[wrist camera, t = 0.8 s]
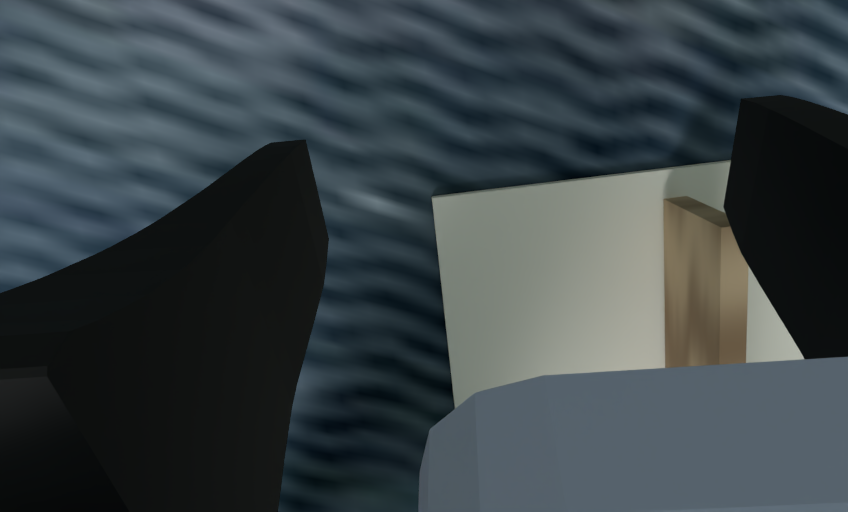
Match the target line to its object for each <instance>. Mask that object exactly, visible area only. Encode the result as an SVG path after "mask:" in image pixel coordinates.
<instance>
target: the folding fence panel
mask: <svg viewBox="0 0 848 512" xmlns="http://www.w3.org/2000/svg"><path fill="white" fill-rule="evenodd" d="M663 204H664V295H665V368H671V367H688V366H704V365H720V364H736V363H746V343H747V304H748V264H747V263H746V261H745V259H744V257H743V255H742V254H741V252H740V249H739V247H738V244H737V242H736V240H735V237H734V235H733V232H732V230H731V227H730V224H729V221H728V219H727V216H726V213H724V212H722V211H719V210H717V209H715V208H713V207H711V206H708V205H706V204H704V203H702V202H699V201H697V200H695V199H693V198H691V197H688V196H682V197H674V198H666V199H663Z"/></svg>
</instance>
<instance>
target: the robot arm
mask: <svg viewBox="0 0 848 512" xmlns="http://www.w3.org/2000/svg"><path fill="white" fill-rule="evenodd" d="M723 208H724V210H725V213H726V216H727V219H728V221H729V224H730V227H731V230H732V232H733V235H734V237H735V240H736V242H737V244H738V247H739V249H740V252H741V254H742V255H743V257H744V259H745V261H746V263H747V264H748V266H749V268H750V269H751V271H752V273H753V274H754V276H755V278H756V279H757V281H758V283H759V284H760V286H761V288H762V289H763V291H764V293H765V294H766V296H767V298H768V299H769V301H770V303H771V304H772V306H773V307H774V309H775V311H776V312H777V314H778V316H779V317H780V319H781V321H782V322H783V324H784V325H785V327H786V329H787V330H788V332H789V334H790V335H791V337H792V339H793V340H794V342H795V344H796V345H797V347H798V348H799V350H800V352H801V354H802V355H803V357H804V359H801V360H785V361H769V362H753V363H736V364H720V365H704V366H688V367H671V368H655V369H639V370H623V371H606V372H590V373H574V374H558V375H542V376H538V377H534V378H530V379H526V380H522V381H518V382H514V383H510V384H506V385H502V386H498V387H494V388H491V389H487V390H483V391H479V392H476V393H474V394H473V395H472V396H470V397H469V398H468V399H467V400H465V401H464V402H463V403H462V404H460V405H459V406H458V407H457V408H456V409H454V410H453V411H452V412H451V413H449V414H448V415H447V416H446V417H444V418H443V419H442V420H441V421H439V422H438V423H437V424H436V425H434V426H433V427H432V428H431V429H430V430H429V434H428V438H427V442H426V447H425V451H424V455H423V459H422V464H421V468H420V475H419V504H418V512H848V115H847V114H844V113H841V112H839V111H836V110H833V109H830V108H827V107H824V106H821V105H818V104H815V103H812V102H808V101H805V100H801V99H798V98H793V97H788V96H783V95H777V96H766V97H756V98H745V99H741V103H740V109H739V115H738V121H737V127H736V133H735V139H734V145H733V151H732V157H731V163H730V169H729V175H728V181H727V187H726V193H725V199H724V205H723ZM328 241H329V238H328V233H327V229H326V225H325V221H324V216H323V212H322V208H321V204H320V199H319V195H318V191H317V186H316V182H315V178H314V174H313V169H312V165H311V161H310V156H309V152H308V148H307V144H306V140H295V141H285V142H274V143H270V144H268V145H265V146H264V147H262V148H260V149H259V150H257V151H256V152H254V153H253V154H251V155H250V156H249V157H247V158H246V159H244V160H243V161H242V162H240V163H239V164H238V165H236V166H235V167H234V168H232V169H231V170H230V171H228V172H227V173H226V174H224V175H223V176H221V177H220V178H219V179H217V180H216V181H215V182H213V183H212V184H211V185H209V186H208V187H207V188H205V189H204V190H202V191H201V192H200V193H198V194H197V195H195V196H194V197H192V198H191V199H189V200H188V201H186V202H185V203H183V204H182V205H180V206H179V207H177V208H176V209H174V210H173V211H171V212H170V213H168V214H167V215H165V216H164V217H162V218H161V219H159V220H158V221H156V222H154V223H153V224H151V225H149V226H148V227H146V228H144V229H142V230H141V231H139V232H137V233H136V234H134V235H132V236H130V237H128V238H126V239H124V240H122V241H121V242H119V243H117V244H115V245H113V246H111V247H109V248H107V249H105V250H103V251H101V252H99V253H97V254H95V255H93V256H90V257H88V258H86V259H84V260H81V261H79V262H77V263H75V264H72V265H70V266H68V267H66V268H63V269H61V270H59V271H57V272H54V273H52V274H50V275H48V276H45V277H43V278H40V279H38V280H35V281H32V282H30V283H27V284H24V285H22V286H19V287H16V288H14V289H11V290H8V291H5V292H2V293H0V512H278V506H279V498H280V490H281V482H282V474H283V466H284V458H285V451H286V444H287V437H288V431H289V424H290V417H291V410H292V404H293V400H294V395H295V391H296V386H297V382H298V378H299V375H300V371H301V367H302V364H303V360H304V356H305V353H306V349H307V346H308V342H309V338H310V335H311V331H312V327H313V324H314V320H315V316H316V312H317V309H318V305H319V301H320V297H321V293H322V289H323V285H324V279H325V271H326V262H327V252H328Z"/></svg>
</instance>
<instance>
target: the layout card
mask: <svg viewBox="0 0 848 512" xmlns="http://www.w3.org/2000/svg"><path fill="white" fill-rule="evenodd" d="M730 163H731V160H726V161H718V162H710V163H701V164H693V165H685V166H677V167H668V168H660V169H652V170H644V171H636V172H627V173H619V174H611V175H603V176H594V177H586V178H578V179H570V180H561V181H553V182H545V183H537V184H529V185H520V186H512V187H504V188H496V189H487V190H479V191H471V192H463V193H455V194H446V195H438V196H432V205H433V214H434V223H435V233H436V242H437V251H438V260H439V269H440V278H441V287H442V297H443V306H444V315H445V324H446V333H447V342H448V351H449V361H450V370H451V379H452V388H453V397H454V406H455V409H456V408H457V407H458V406H459V405H460V404H462V403H463V402H464V401H465V400H467V399H468V398H469V397H470V396H472V395H473V394H474V393H476V392H479V391H483V390H487V389H491V388H494V387H498V386H502V385H506V384H510V383H514V382H518V381H522V380H526V379H530V378H534V377H538V376H542V375H558V374H574V373H590V372H606V371H623V370H639V369H655V368H665V295H664V204H663V199H666V198H674V197H682V196H688V197H691V198H693V199H695V200H697V201H699V202H702V203H704V204H706V205H708V206H711V207H713V208H715V209H717V210H719V211H722V212H724V213H725V210H724V208H723V205H724V199H725V193H726V187H727V181H728V175H729V169H730ZM801 359H804V357H803V355H802V354H801V352H800V350H799V348H798V347H797V345H796V344H795V342H794V340H793V339H792V337H791V335H790V334H789V332H788V330H787V329H786V327H785V325H784V324H783V322H782V321H781V319H780V317H779V316H778V314H777V312H776V311H775V309H774V307H773V306H772V304H771V303H770V301H769V299H768V298H767V296H766V294H765V293H764V291H763V289H762V288H761V286H760V284H759V283H758V281H757V279H756V278H755V276H754V274H753V273H752V271H751V269H750V268H749V266H748V304H747V343H746V363H753V362H769V361H785V360H801Z"/></svg>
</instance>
